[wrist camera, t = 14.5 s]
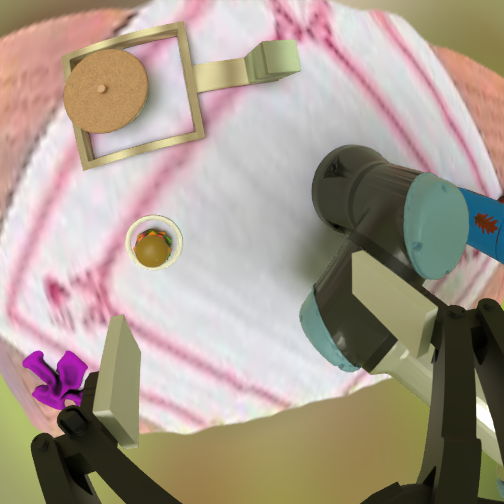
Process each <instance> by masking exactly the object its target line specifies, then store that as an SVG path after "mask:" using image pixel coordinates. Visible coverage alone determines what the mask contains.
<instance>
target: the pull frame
mask: <svg viewBox="0 0 504 504" xmlns="http://www.w3.org/2000/svg"><path fill="white" fill-rule="evenodd" d="M174 36H177V39H178V45H179V50H180V56H181V62H182V67H183V73H184V79H185V84H186V89H187V95H188V100H189V105H190V111H191V116H192V121H193V126H194V131H195V132H191V133H187V134H182V135H178V136H174V137H170V138H166V139H162V140H158V141H154V142H150V143H147V144H143V145H139V146H136V147H132V148H129V149H125V150H122V151H119V152H115V153H112V154H109V155H106V156H102V157H99V158H96V159H94V156H93V152H92V147H91V143H90V138H89V134H88V132H87V131H84V130H82V129H81V128H79V127H78V126H76V125H75V124H74V123H73V122H72V123H73V128H74V133H75V138H76V142H77V147H78V151H79V155H80V159H81V163H82V167H83V171H85V170H88V169H91V168H94V167H97V166H100V165H103V164H107V163H110V162H113V161H116V160H120V159H123V158H126V157H130V156H133V155H137V154H140V153H144V152H148V151H151V150H155V149H159V148H163V147H167V146H171V145H175V144H179V143H183V142H188V141H192V140H197V139H201V138H205V134H204V129H203V124H202V118H201V113H200V108H199V103H198V97H197V93H201V92H206V91H212V90H218V89H223V88H230V87H236V86H243V85H250V84H258V83H267V82H276V81H278V80H279V79H281V78H283V77H286V76H288V75H291V74H294V73H296V72H299V71H301V66H300V61H299V55H298V50H297V45H296V40H277V41H262V42H261V43H260V44H259V45H258V46H257V47H255V48H254V49H253V50H252V51H251V52H250V53H249V54H248V55H247V56H245V57H244V58H239V59H231V60H224V61H217V62H211V63H205V64H199V65H193V66H192V64H191V59H190V53H189V48H188V42H187V36H186V30H185V24H184V21H182V22H177V23H172V24H167V25H162V26H157V27H153V28H148V29H144V30H140V31H136V32H132V33H129V34H125V35H122V36H118V37H115V38H111V39H108V40H105V41H102V42H99V43H96V44H93V45H90V46H87V47H84V48H81V49H79V50H76V51H73V52H71V53H68V54H66V55H63V56H62V61H63V69H64V77H65V83H66V82H67V79H68V77H69V75H70V74H71V72H72V70H73V69H74V68H75V67H76V64H78V63H79V62H81V61H82V60H83V59H84V58H86V57H87V56H89V55H91V54H92V53H94V52H97V51H100V50H105V49H119V50H120V49H124V48H127V47H131V46H135V45H139V44H142V43H146V42H151V41H155V40H159V39H164V38H169V37H174Z"/></svg>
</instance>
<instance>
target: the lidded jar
mask: <svg viewBox="0 0 504 504" xmlns="http://www.w3.org/2000/svg"><path fill="white" fill-rule="evenodd" d="M147 96H148V78H147V74H146V71H145V69H144V67H143V65H142V64H141V62H140V61H139V60H138V59H137V58H136V57H135V56H133V55H132V54H130V53H128V52H126V51H123V50H119V49H105V50H100V51H97V52H94V53H92V54H91V55H89V56H87V57H86V58H84V59H83V60H82V61H81V62H79V63H78V64H77V65H76V67H75V68H74V69H73V70H72V72H71V74H70V75H69V77H68V79H67V82H66V85H65V89H64V106H65V110H66V112H67V115H68V116H69V118H70V119H71V121H72V122H73V123H74V124H75V125H76V126H78V127H79V128H81V129H82V130H84V131H87V132H90V133H109V132H113V131H116V130H118V129H120V128H122V127H124V126H126V125H128V124H129V123H131V122H132V121H133V120H134V119H135V118H136V117H137V116H138V115H139V113H140V112H141V110H142V109H143V107H144V105H145V103H146V99H147Z"/></svg>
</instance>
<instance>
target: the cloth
mask: <svg viewBox="0 0 504 504" xmlns="http://www.w3.org/2000/svg"><path fill="white" fill-rule="evenodd" d="M43 356H44V354H43V352H41V351H35V352H33V353H32V354H31V355H30V356H28V357H27V358H26V359H25V360H24V361H23V363H22V364H23V367H25V368H29V369H30V370H32V371H33V372H34V373H35V374H36V375H38V376H39V377H40V378H41V379H42V380H43V381H44V382H45V383H47V385H41V386H39V387H38V388H36V389H35V391H34V392H33V393H32V396H33V397H35V398H36V399H37V400H38V401H40V402H42V403H43V404H46V405H48V406H50V407H53V408H55V409H58V410H63V409H64V408H66V406H65V404H64V402H65V400H66V399H69V400H73V401H74V402H75V404H76V405H77V406H80V403H81V398H82V393H83V390H82V391H77V389H78V388H79V387H80V386H81V383H82V378H83V375H84V372H85V370H87V368H88V367H87V365H86V364H85V363H84V362H82V361H81V360H80V359H79V358H78V357H77V356H76V355H75V354H73V353H72V352H71V351H66V353H65V355H64V356H63V357H62V359H61V360H60V361H59V362H58V364H57V370H56V372H57V373H59V375H56V374H54V373H53V372H52V371H51V370H50V369H49V368H48V367H47V365H46V364H45V362H44V360H43Z"/></svg>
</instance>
